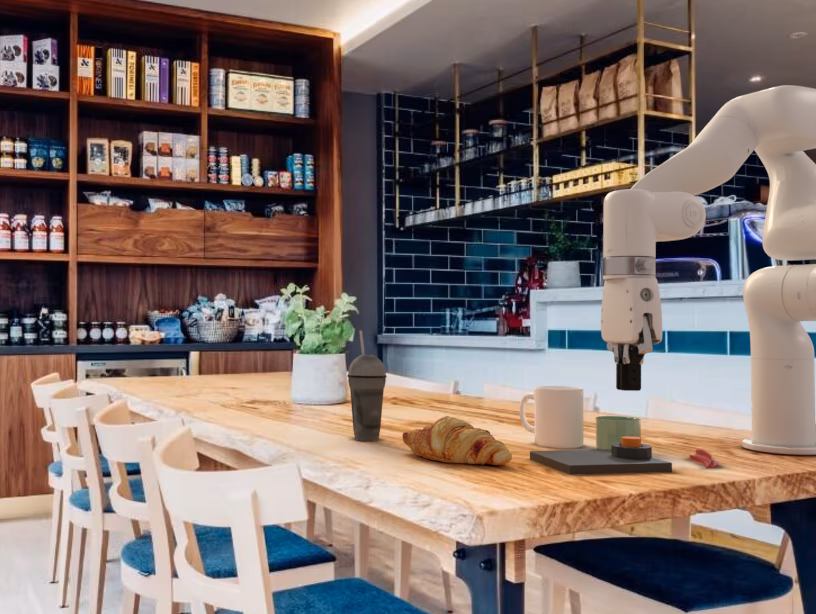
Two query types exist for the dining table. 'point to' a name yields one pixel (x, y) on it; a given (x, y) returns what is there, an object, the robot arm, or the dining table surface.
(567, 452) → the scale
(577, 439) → the cup
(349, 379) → the beverage cup
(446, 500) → the dining table surface
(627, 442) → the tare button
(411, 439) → the croissant
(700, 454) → the cayenne pepper
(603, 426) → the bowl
